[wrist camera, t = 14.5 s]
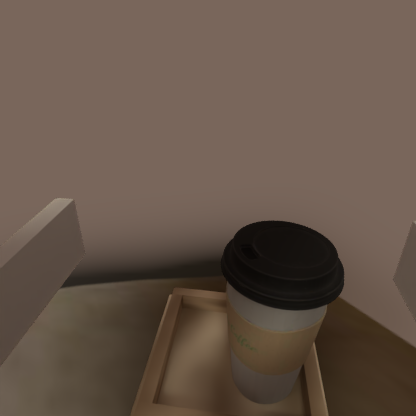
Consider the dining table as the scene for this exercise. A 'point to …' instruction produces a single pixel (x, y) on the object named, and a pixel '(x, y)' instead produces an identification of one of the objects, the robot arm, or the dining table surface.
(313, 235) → the coffee cup
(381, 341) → the dining table surface
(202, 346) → the wooden tray
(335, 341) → the dining table surface
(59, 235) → the robot arm
